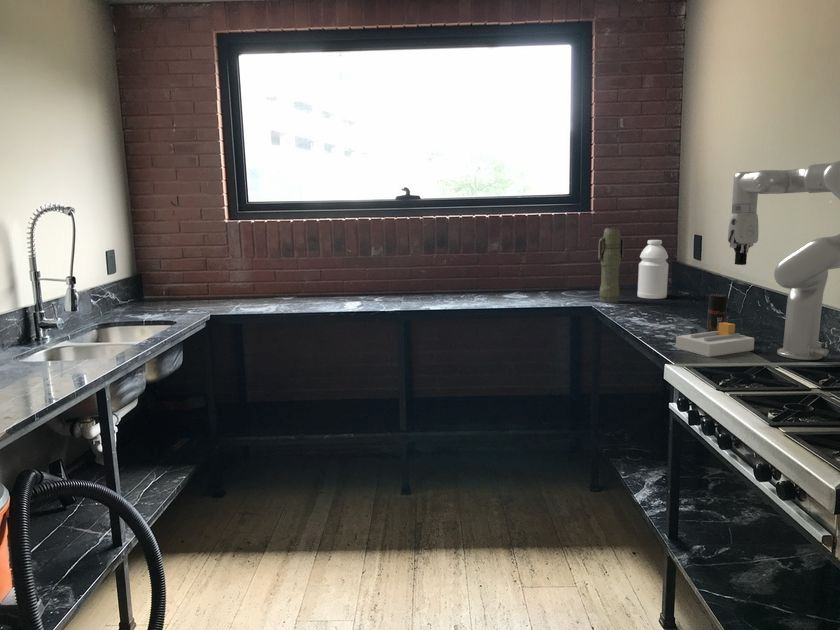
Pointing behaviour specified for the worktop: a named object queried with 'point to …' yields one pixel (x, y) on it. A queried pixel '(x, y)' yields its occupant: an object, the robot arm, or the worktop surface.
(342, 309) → the worktop surface
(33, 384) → the worktop surface
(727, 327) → the block
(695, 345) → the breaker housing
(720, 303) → the deodorant
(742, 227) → the robot arm
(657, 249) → the bottle
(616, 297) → the thermos
